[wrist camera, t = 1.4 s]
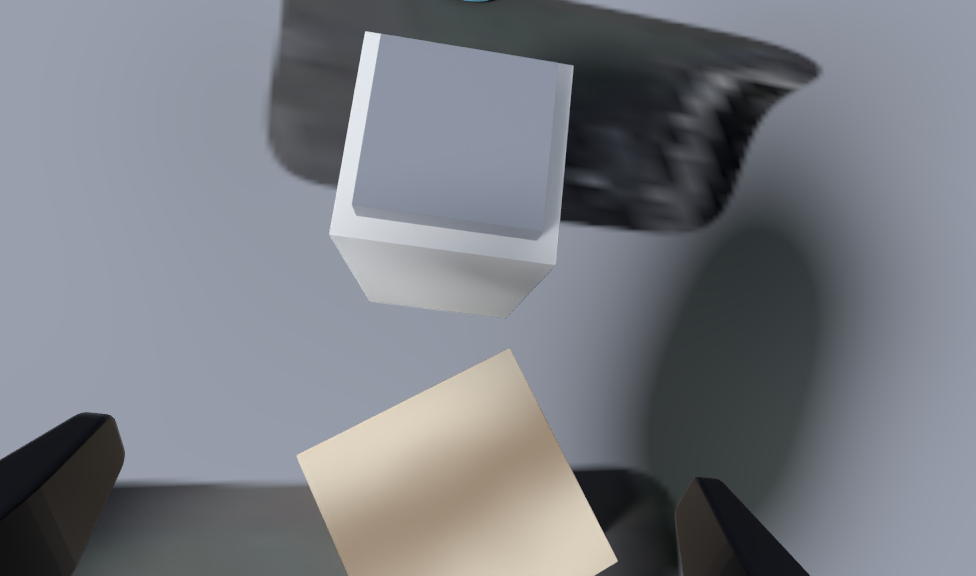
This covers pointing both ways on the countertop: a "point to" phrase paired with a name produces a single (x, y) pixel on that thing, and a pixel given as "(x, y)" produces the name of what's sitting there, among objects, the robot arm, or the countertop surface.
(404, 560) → the block
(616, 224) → the countertop surface
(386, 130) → the carton
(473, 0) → the blue plastic bottle
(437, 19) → the countertop surface
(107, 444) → the robot arm
